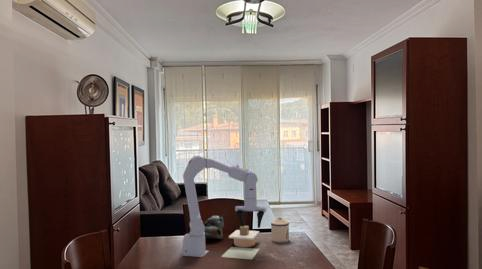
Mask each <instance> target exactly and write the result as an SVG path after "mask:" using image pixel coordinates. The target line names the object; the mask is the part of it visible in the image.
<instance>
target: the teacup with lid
mask: <svg viewBox="0 0 482 269" xmlns="http://www.w3.org/2000/svg"><path fill="white" fill-rule="evenodd" d="M270 225H271V228H270V229H271V241H272V242H276V243H285V242H286V243H287V242H289V241H290V234H289V232H290V230H289V228H290V226H289V225H290V222H289V221H288V220H286V219H284V218H282V216H278V217H277V218H276V219H274V220H271V223H270Z"/></svg>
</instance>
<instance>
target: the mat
mask: <svg viewBox="0 0 482 269" xmlns="http://www.w3.org/2000/svg"><path fill="white" fill-rule="evenodd" d="M260 249H261V248H252V247H238V246H230V247H229V248H228V249H227V250H226V251H225V252H224V253H223V254H222V255H221V256H220V257H221V258H229V259H230V258H231V259H243V260H253V259H254V257H255V256H256V254H257V253H258V252H259V250H260Z"/></svg>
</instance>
